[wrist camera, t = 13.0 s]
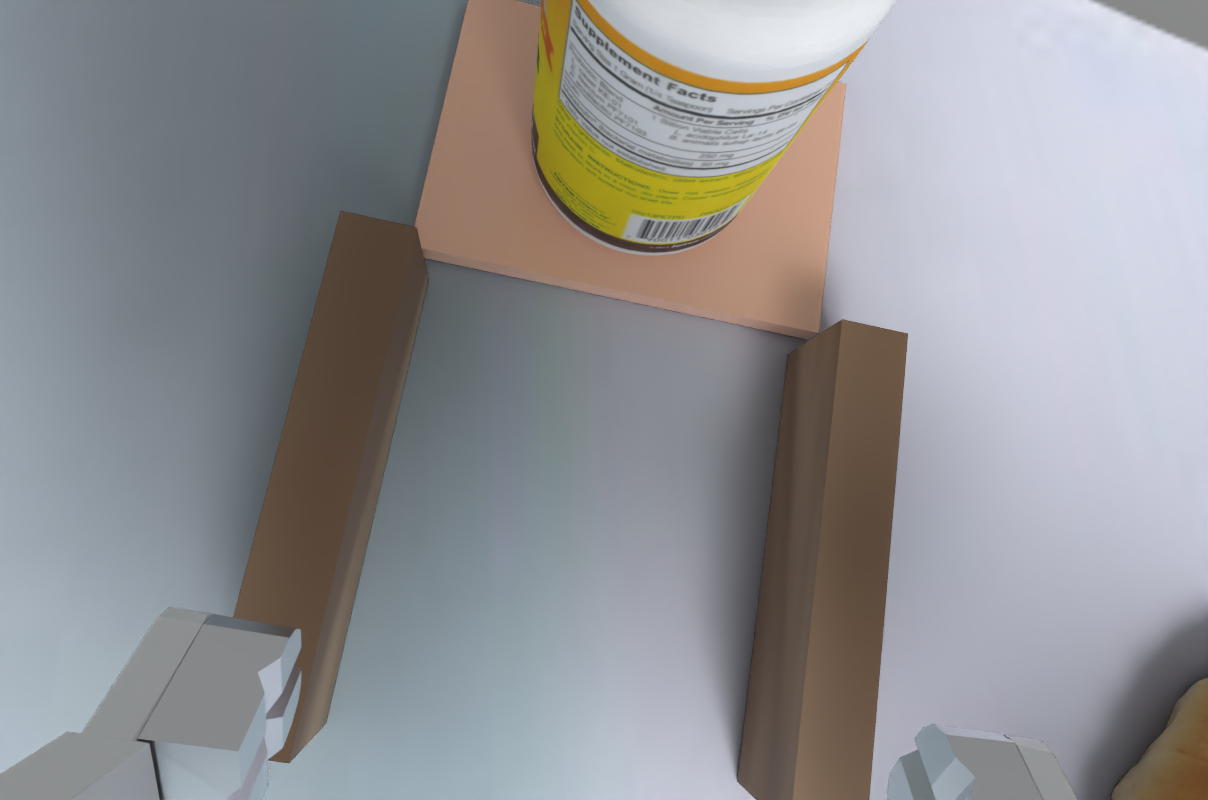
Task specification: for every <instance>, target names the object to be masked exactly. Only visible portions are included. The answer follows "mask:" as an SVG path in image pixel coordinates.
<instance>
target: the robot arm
mask: <svg viewBox="0 0 1208 800" xmlns="http://www.w3.org/2000/svg"><path fill="white" fill-rule="evenodd" d="M300 649H301V629H297V628H291V627H285V626H279V625H274V624H268V623H262V622H256V621H251V620H245V619H239V618H233V617H227V616H222V615H216V614H211V613H205V612H199V611H192V610H186V609H179V608H173V607H169V608H167V609H166V610H165V611H164V612H163V613H162V614H161V615H159V616H158V617H157V618H156V619H155V621H154V622H153V624H152V625H151V627H150V628H149V630H148V632H147V633H146V635H145V636H144V638H143V639H142V641H141V642H140V644H139V645H138V647H137V648H136V650H135V651H134V653H133V655H132V656H131V658H130V659H129V661H128V662H127V664H126V665H125V667H124V668H123V670H122V671H121V673H120V674H119V676H118V678H117V679H116V681H115V682H114V684H113V685H112V687H111V688H110V690H109V691H108V693H107V694H106V696H105V697H104V699H103V701H102V702H101V704H100V705H99V707H98V708H97V710H96V711H95V713H94V714H93V716H92V717H91V719H90V720H89V722H88V724H87V725H86V727H85V728H84V730H83V731H82V733H76V732H66V733H64V734H62V735H61V736H59V737H58V738H56V739H55V740H53V741H51V742H50V743H48V744H47V745H45V746H44V747H42V748H40V749H39V750H37V751H36V752H34V753H33V754H31V755H29V756H28V757H26V758H25V759H23V760H22V761H20V762H18V763H17V764H15V765H14V766H12V767H10V768H9V769H7V770H6V771H4V772H3V773H1V774H0V800H262V799H263V796H264V794H265V791H266V789H267V786H268V759H269V758H271V757H272V756H273V755H275V754H276V753H277V752H278V751H280V750H281V749H282V748H283V746H284V743H285V741H286V738H287V736H288V733H289V730H290V728H291V725H292V722H293V718H294V714H295V711H296V707H297V704H298V700H299V694H300V687H301V669H300V668H299V667H298V666H297V665H296V664H295V661H296V659H297V656H298V654H299V651H300ZM914 739H915V742H916V745H917V748H918V750H916V751H914V752H911V753H909V754H907V755H905V756H903V757H900V758H899V760H898V761H897V763H896V764H895V766H894V767H893V769H892V770H891V772H890V775H889V782H888V788H887V800H1077V798H1076V796H1075V794H1074V792H1073V790H1072V788H1071V786H1070V784H1069V782H1068V781H1067V779H1066V777H1065V775H1064V773H1063V771H1062V769H1061V767H1060V765H1059V763H1058V762H1057V760H1056V758H1055V756H1054V754H1053V752H1052V751H1051V750H1050V749H1049V748H1048V747H1047V746H1046V745H1045V744H1044V743H1043V742H1042V741H1039V740H1035V739H1030V738H1023V737H1015V736H1007V735H1001V734H999V733H995V732H988V731H980V730H973V729H966V728H958V727H951V726H943V725H936V724H932V725H929V726H926V727H923V728H922V730H921V731H920V732H919V733H918V735H917V736H916V737H915V738H914Z"/></svg>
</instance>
